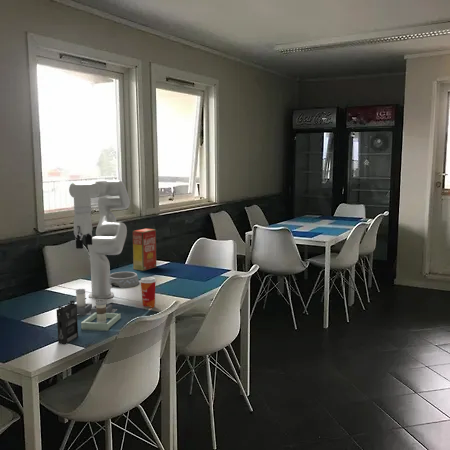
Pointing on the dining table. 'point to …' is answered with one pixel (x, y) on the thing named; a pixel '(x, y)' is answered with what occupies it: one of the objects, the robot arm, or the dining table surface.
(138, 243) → the food packaging
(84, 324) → the parts tray
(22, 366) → the dining table surface
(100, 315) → the fuse
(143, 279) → the paper cup
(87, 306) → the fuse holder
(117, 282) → the dog bowl
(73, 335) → the geiger counter
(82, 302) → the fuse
